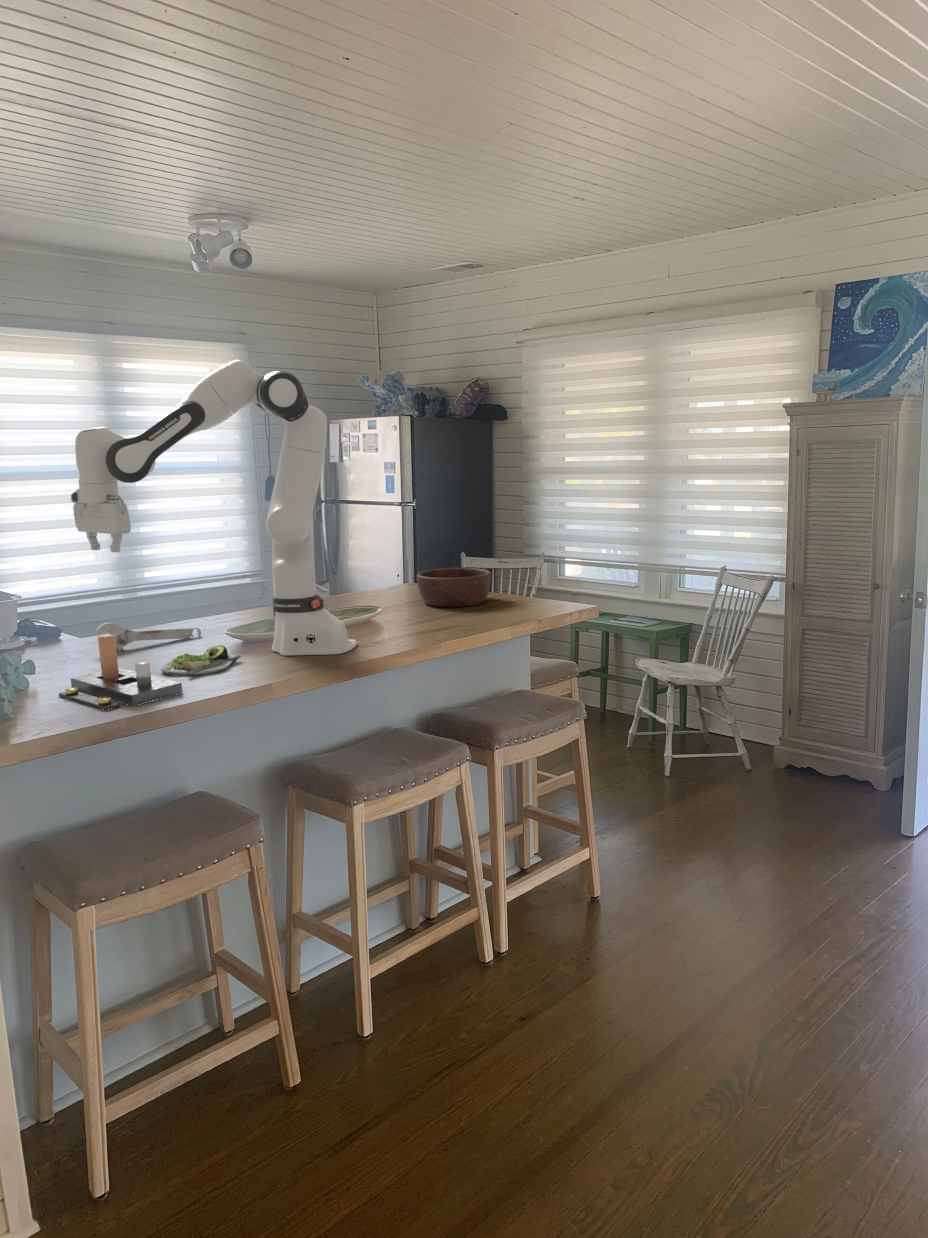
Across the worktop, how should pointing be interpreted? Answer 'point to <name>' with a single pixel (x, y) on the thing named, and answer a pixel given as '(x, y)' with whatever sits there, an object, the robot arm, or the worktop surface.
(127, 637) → the wrench
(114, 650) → the dowel
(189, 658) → the salad plate
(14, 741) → the worktop surface
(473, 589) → the wooden bowl
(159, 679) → the hole plate
